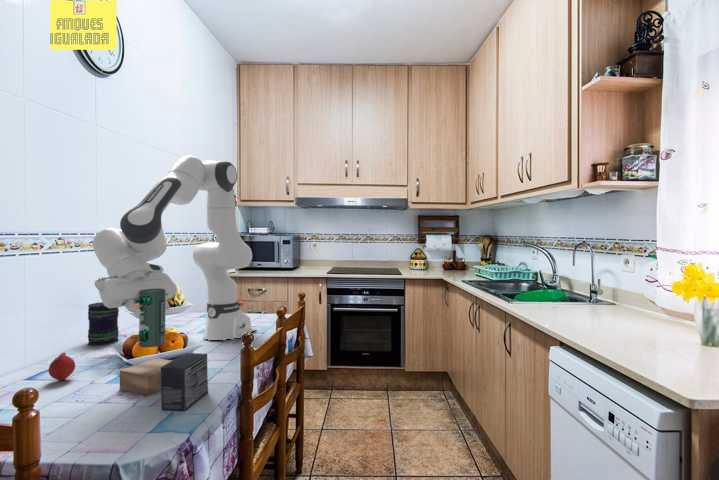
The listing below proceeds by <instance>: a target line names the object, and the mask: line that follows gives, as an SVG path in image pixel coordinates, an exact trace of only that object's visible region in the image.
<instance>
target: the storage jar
mask: <svg viewBox="0 0 719 480" xmlns="http://www.w3.org/2000/svg"><path fill="white" fill-rule="evenodd" d="M87 306H88V309H87V310H88V311H87V316H88V317H87V318H88V331H87V333H88V334H87V338H88V339H87V340H88V342H87V345H88V346H90V347H91V346H92V347H97V346H98V347H99V346H101V347H102V346H106V345H112V344H115V343H117V342H119V333H120V332H119V331H120V330H119V326H118V325H119V322H118V321H119V320H118V319H119V312H120V311H119V307H117V308H108V307H106V306H105V305H104V303H103V301H102V302H95V303H90V304H88V305H87ZM116 341H117V342H116ZM114 342H115V343H114ZM111 343H112V344H111Z"/></svg>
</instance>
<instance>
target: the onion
mask: <svg viewBox="0 0 719 480" xmlns="http://www.w3.org/2000/svg"><path fill="white" fill-rule="evenodd" d="M53 359H54V360H52V361H51V363H50V364H49V367H48V375H50V377H51V378H52V379H54V380H57V381H60V382H63V381H65V380H66V379H68V377H70V376H71V375H72V374H73V373H74V371H75V369H76V362H75V361H74V359H73V358H72V357H71V356H68V355H66V352H64V351H63V352H61V353H60V354H59V355H58V356H57V357H55V358H53Z"/></svg>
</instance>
